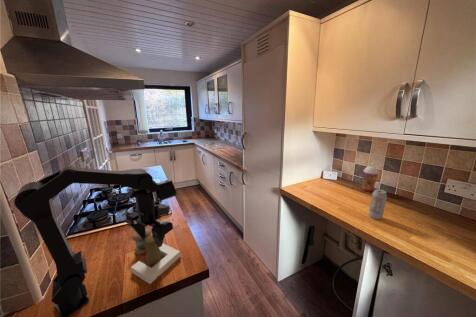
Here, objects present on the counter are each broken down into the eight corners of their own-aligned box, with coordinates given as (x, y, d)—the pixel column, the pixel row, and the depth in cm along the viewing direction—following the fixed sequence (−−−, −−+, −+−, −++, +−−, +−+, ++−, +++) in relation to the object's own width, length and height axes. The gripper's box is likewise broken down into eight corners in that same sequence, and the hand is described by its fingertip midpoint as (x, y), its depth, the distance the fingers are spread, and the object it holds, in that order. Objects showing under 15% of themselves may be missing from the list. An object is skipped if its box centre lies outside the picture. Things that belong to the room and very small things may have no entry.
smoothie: (357, 188, 136) (361, 161, 131) (366, 186, 138) (371, 160, 133) (368, 193, 128) (373, 164, 123) (377, 191, 131) (383, 163, 125)
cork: (157, 254, 78) (154, 231, 75) (166, 261, 75) (162, 237, 72) (143, 263, 74) (138, 239, 71) (151, 271, 70) (147, 246, 67)
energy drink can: (384, 219, 100) (390, 192, 96) (376, 221, 98) (381, 194, 94) (373, 213, 105) (378, 188, 101) (365, 215, 104) (370, 189, 100)
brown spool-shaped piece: (141, 257, 77) (139, 241, 75) (131, 250, 80) (128, 235, 78) (156, 246, 83) (154, 231, 81) (145, 240, 86) (143, 226, 84)
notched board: (150, 284, 65) (149, 278, 65) (131, 272, 70) (130, 267, 69) (180, 256, 77) (179, 251, 76) (163, 248, 82) (162, 243, 81)
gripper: (182, 200, 70) (186, 237, 74) (148, 190, 79) (153, 223, 83) (156, 216, 61) (162, 256, 65) (121, 202, 69) (128, 239, 74)
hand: (152, 242), depth 72 cm, fingers open, 9 cm apart
